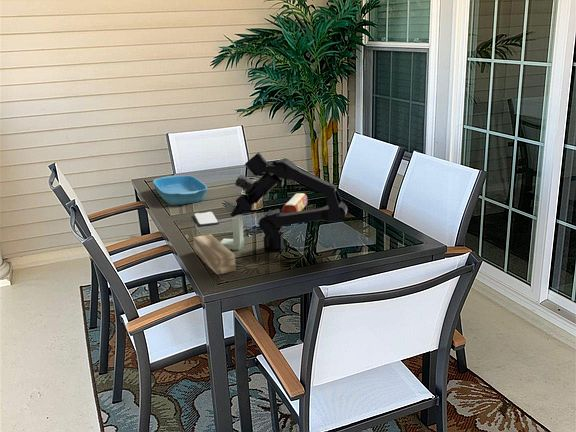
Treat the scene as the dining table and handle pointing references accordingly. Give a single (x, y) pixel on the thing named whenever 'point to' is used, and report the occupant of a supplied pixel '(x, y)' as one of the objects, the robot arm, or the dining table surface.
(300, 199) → the snack package
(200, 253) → the beige u-shaped channel
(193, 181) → the casserole dish
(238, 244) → the sage green flanged block
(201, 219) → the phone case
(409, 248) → the dining table surface
